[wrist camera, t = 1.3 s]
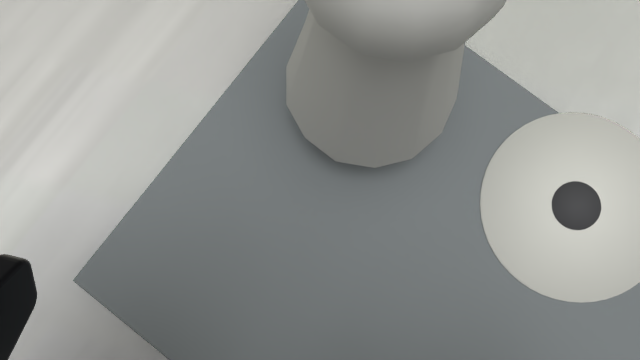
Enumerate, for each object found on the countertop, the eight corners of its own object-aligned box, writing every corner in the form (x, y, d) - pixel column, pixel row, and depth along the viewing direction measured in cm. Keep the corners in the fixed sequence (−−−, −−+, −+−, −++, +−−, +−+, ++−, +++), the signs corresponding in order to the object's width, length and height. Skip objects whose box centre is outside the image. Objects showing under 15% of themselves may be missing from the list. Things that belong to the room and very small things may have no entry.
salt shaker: (357, 208, 22) (394, 148, 9) (259, 93, 23) (164, -113, 10) (475, 107, 23) (667, -85, 10) (375, -3, 23) (430, -324, 10)
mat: (635, 738, 20) (641, 749, 20) (76, 279, 22) (71, 280, 22) (903, 332, 22) (914, 333, 21) (351, -63, 24) (352, -68, 23)
